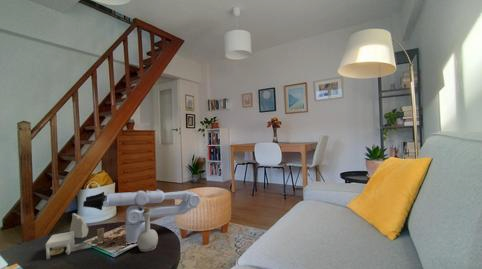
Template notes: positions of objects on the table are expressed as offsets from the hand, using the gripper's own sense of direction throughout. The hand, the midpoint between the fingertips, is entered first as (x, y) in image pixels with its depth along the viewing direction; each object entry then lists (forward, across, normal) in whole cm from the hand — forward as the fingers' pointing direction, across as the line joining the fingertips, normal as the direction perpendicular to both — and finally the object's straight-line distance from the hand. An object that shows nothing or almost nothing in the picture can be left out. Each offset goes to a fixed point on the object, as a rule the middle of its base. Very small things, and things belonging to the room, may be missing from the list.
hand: (84, 201), depth 99 cm
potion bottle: (-26, +11, +20) cm, 34 cm away
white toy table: (+8, -6, +22) cm, 25 cm away
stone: (+3, -22, +22) cm, 32 cm away
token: (+10, -6, +23) cm, 26 cm away
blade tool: (-1, -6, +22) cm, 23 cm away
